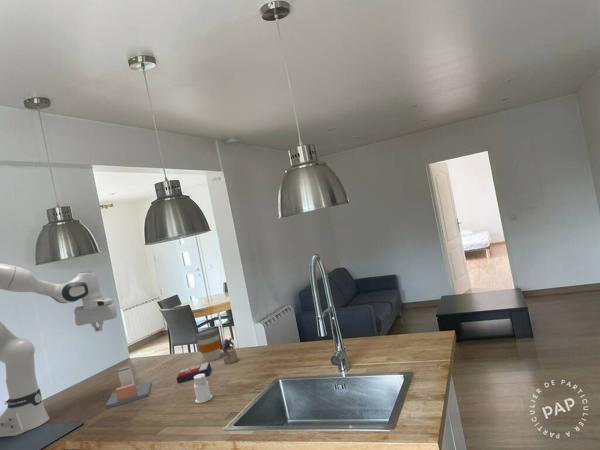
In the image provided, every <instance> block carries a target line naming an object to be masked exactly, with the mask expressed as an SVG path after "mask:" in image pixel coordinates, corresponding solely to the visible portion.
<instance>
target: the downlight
mask: <svg viewBox="0 0 600 450" xmlns="http://www.w3.org/2000/svg"><path fill="white" fill-rule="evenodd" d="M193 382H194V385H193V389H194V390H193V391H194V393H195V400H194V402H195V403H197V404H202V403H206V402H208V401H210V400H211V399H213V395H212V394H211V389H210V386H209V381H207V377H205V374H198V375H196V376H194V380H193Z"/></svg>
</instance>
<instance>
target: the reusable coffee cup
mask: <svg viewBox="0 0 600 450" xmlns="http://www.w3.org/2000/svg"><path fill="white" fill-rule="evenodd" d="M195 340H196V341H197V346H198V348H199V352H200V354H201V355H202V358H203V361H204V362H212V361H216V360H218V359H220V358H221V357H222V355H221V348H222V345H221V338H220V332H219V329H218V328H217V327H211V328H206V329H203V330H200V331H198V332H196V333H195Z"/></svg>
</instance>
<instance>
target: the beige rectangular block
mask: <svg viewBox="0 0 600 450" xmlns="http://www.w3.org/2000/svg"><path fill="white" fill-rule="evenodd" d="M117 373H118V377H119V382H120V387H123V386H126V385H130V384H133V383H135V380H134V376H133V371H132V366H131V364H129V365H127V366H126V365H125V366H122V367H120V368H118V369H117Z"/></svg>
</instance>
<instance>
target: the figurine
mask: <svg viewBox="0 0 600 450" xmlns="http://www.w3.org/2000/svg"><path fill="white" fill-rule="evenodd" d="M232 339H233V338H231V337H230V338H229V339H228V338H226V339H224V340H223V342H222V345H221V349H222V351H223V362H224V365H225V366H226V365H228V366H229V365H232V364H235V363H236V362H238V361H239V357H238V354H237V352H236V349H235V348H234V345H235V344H234V343H233V342H232Z"/></svg>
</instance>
